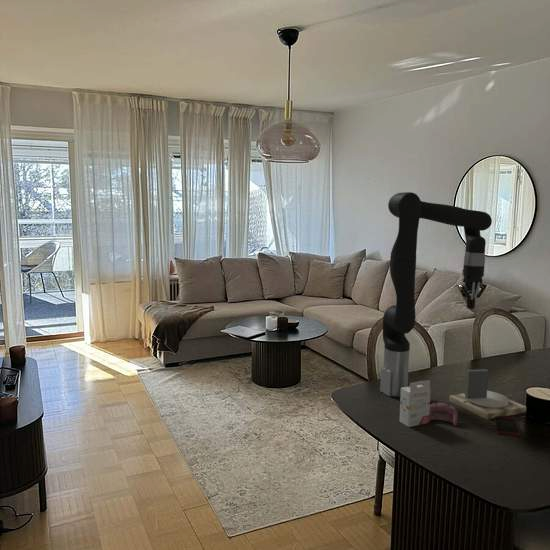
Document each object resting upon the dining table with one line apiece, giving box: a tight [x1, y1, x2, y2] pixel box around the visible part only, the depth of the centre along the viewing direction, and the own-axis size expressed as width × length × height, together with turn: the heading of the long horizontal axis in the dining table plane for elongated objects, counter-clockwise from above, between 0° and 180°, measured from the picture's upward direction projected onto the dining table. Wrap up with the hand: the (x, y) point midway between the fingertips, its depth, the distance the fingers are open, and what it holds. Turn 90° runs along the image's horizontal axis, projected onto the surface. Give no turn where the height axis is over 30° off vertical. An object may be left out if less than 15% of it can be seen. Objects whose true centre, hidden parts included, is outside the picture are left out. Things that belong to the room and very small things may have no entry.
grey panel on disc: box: [464, 368, 510, 408], centre depth 183 cm, size 15×14×11 cm
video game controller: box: [429, 402, 459, 427], centre depth 171 cm, size 10×5×7 cm, turn 70°
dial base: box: [448, 389, 527, 421], centre depth 184 cm, size 18×18×2 cm
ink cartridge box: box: [399, 379, 431, 428], centre depth 168 cm, size 9×5×15 cm, turn 114°
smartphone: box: [493, 416, 523, 438], centre depth 168 cm, size 7×1×15 cm
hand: (470, 308), depth 200 cm, fingers closed
